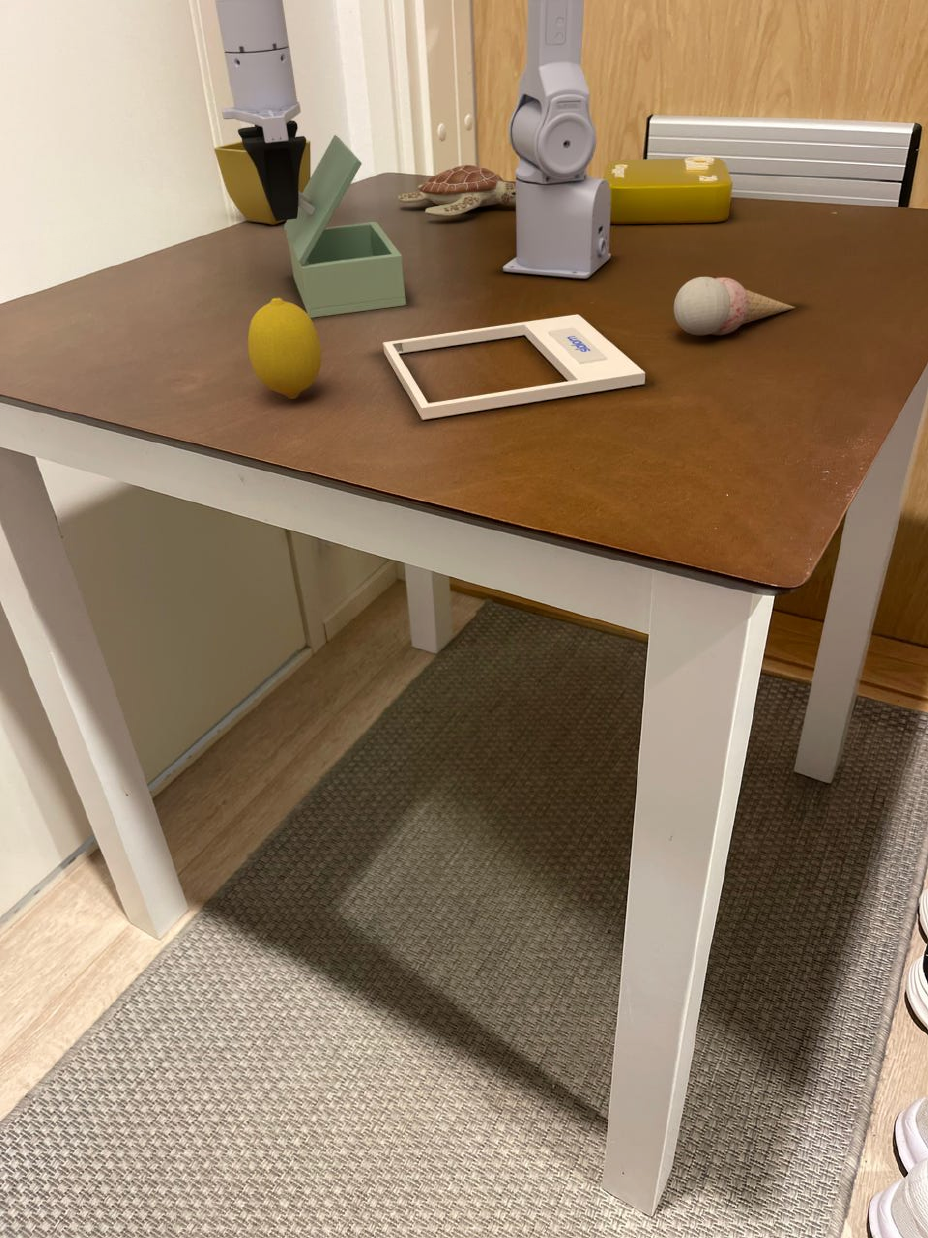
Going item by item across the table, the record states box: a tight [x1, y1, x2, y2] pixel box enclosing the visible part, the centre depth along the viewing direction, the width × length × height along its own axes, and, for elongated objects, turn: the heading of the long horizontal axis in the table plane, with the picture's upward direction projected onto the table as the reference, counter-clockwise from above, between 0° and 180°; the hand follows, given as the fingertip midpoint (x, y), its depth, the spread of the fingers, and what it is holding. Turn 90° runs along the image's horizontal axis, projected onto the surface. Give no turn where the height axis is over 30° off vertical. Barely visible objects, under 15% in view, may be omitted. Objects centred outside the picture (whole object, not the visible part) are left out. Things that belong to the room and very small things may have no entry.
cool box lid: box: [283, 134, 363, 265], centre depth 90 cm, size 10×14×5 cm
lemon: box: [247, 297, 322, 400], centre depth 73 cm, size 6×6×8 cm
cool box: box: [286, 221, 407, 319], centre depth 95 cm, size 10×14×5 cm
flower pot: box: [213, 139, 312, 226], centre depth 120 cm, size 9×9×9 cm
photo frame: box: [382, 314, 646, 421], centre depth 77 cm, size 15×1×18 cm
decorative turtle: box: [397, 164, 516, 217], centre depth 121 cm, size 18×17×5 cm
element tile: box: [603, 156, 733, 225], centre depth 115 cm, size 15×15×5 cm
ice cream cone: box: [673, 276, 796, 336], centre depth 82 cm, size 5×5×15 cm
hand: (283, 212), depth 91 cm, fingers closed on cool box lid, 5 cm apart
